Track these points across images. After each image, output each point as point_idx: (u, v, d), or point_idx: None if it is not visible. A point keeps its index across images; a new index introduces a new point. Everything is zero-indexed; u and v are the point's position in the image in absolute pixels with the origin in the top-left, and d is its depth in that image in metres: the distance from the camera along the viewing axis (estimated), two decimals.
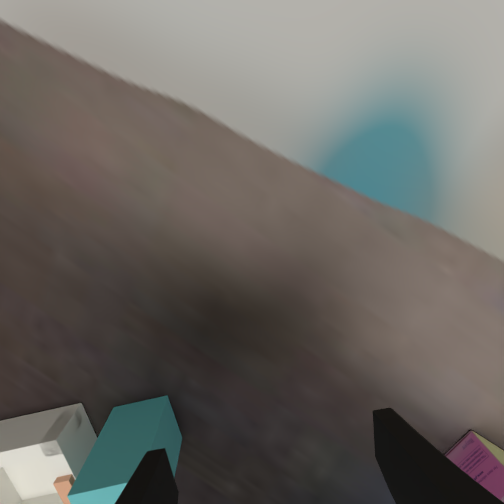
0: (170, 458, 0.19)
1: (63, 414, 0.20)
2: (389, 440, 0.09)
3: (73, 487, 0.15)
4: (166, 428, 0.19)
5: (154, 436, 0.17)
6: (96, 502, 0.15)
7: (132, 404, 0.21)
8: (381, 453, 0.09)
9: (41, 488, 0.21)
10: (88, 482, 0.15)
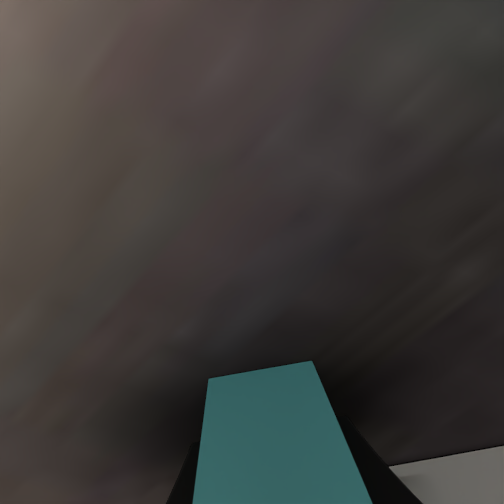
0: (293, 424, 0.08)
1: None
2: None
3: None
4: (239, 410, 0.09)
5: (198, 466, 0.08)
6: None
7: None
8: None
9: None
10: None
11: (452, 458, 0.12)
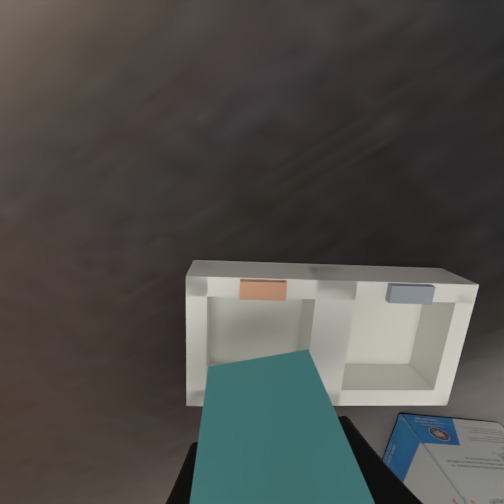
0: (289, 406, 0.09)
1: None
2: None
3: None
4: (238, 394, 0.09)
5: (198, 445, 0.08)
6: None
7: None
8: None
9: (287, 339, 0.19)
10: None
11: (361, 265, 0.18)
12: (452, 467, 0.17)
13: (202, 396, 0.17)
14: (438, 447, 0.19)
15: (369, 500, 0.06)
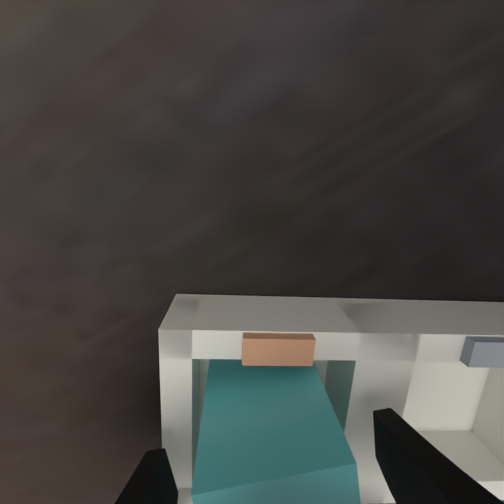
0: (281, 377, 0.10)
1: None
2: (389, 440, 0.09)
3: None
4: (237, 370, 0.11)
5: (203, 409, 0.09)
6: None
7: None
8: (381, 453, 0.09)
9: None
10: None
11: (411, 300, 0.13)
12: None
13: (187, 495, 0.11)
14: None
15: (344, 443, 0.07)
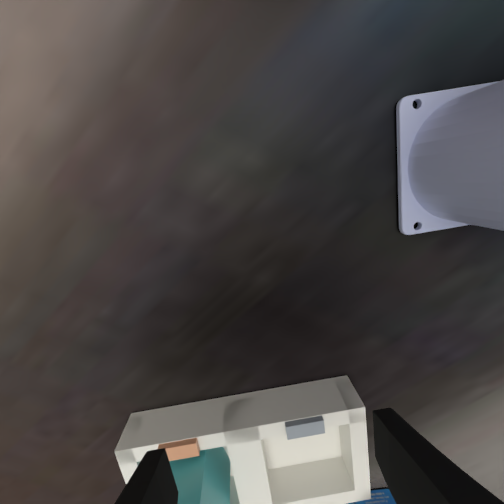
0: (186, 463, 0.18)
1: None
2: (389, 440, 0.09)
3: None
4: None
5: None
6: None
7: None
8: (381, 453, 0.09)
9: None
10: None
11: (274, 389, 0.21)
12: None
13: None
14: None
15: None
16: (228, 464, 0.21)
